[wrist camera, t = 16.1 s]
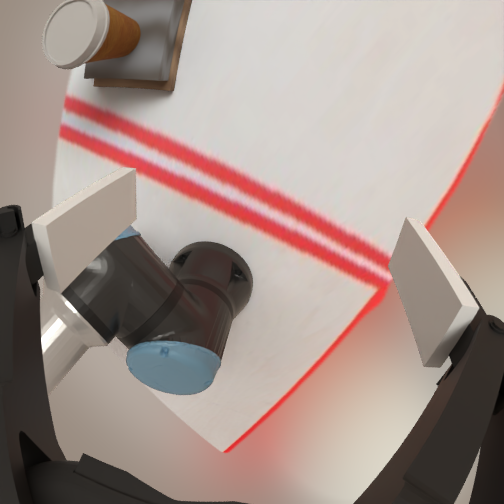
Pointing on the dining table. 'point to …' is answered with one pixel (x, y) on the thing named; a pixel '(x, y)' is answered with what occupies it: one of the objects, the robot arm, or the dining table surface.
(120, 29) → the disposable coffee cup
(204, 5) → the dining table surface
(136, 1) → the grey block on wood
